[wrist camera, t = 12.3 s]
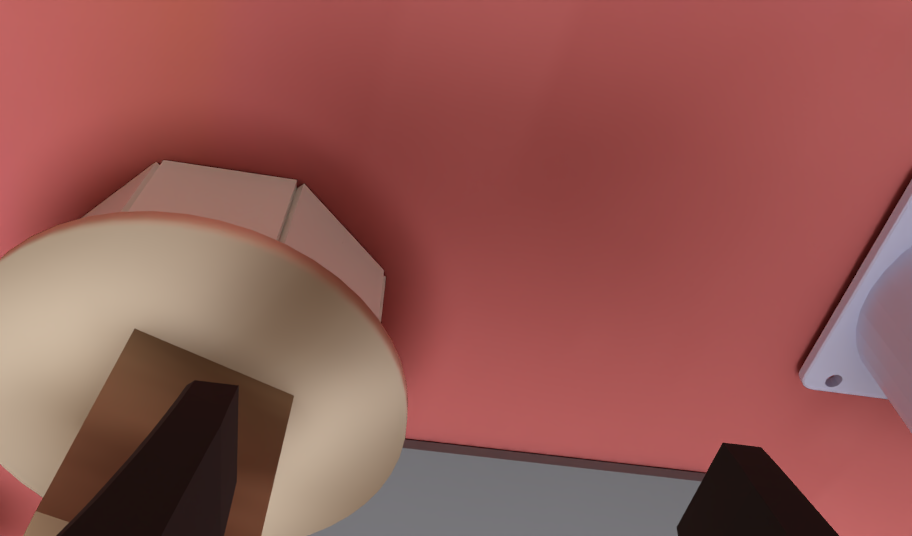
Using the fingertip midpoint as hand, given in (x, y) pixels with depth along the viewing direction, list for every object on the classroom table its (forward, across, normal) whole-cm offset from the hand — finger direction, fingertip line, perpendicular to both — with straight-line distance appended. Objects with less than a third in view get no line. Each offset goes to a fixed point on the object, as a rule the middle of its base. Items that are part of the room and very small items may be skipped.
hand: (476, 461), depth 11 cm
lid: (+6, +6, +6) cm, 11 cm away
